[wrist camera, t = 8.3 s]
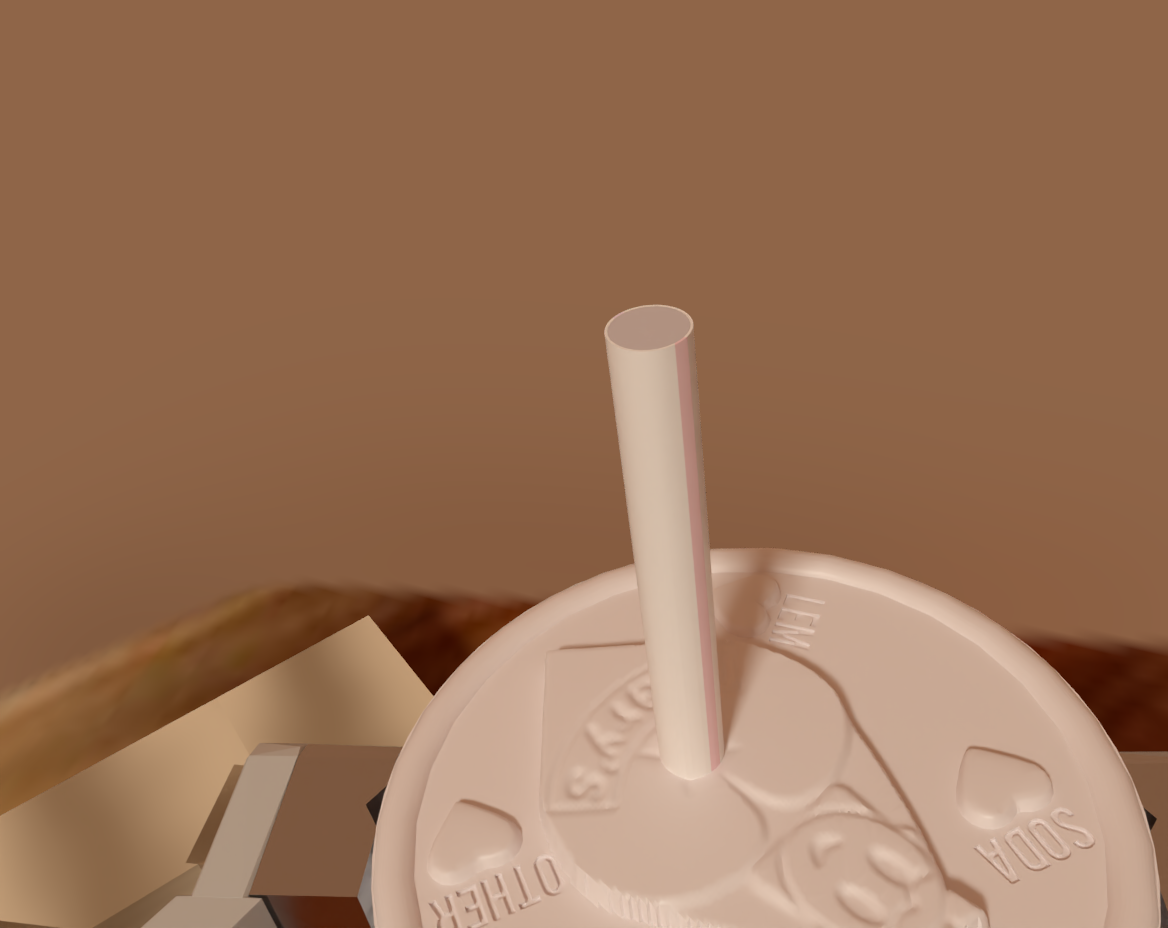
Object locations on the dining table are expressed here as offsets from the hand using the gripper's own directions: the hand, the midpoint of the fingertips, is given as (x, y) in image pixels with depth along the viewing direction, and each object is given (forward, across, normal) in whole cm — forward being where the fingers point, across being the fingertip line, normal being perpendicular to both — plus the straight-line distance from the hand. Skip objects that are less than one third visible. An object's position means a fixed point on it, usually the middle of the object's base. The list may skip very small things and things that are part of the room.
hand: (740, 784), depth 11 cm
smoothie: (-1, 0, +9) cm, 9 cm away
